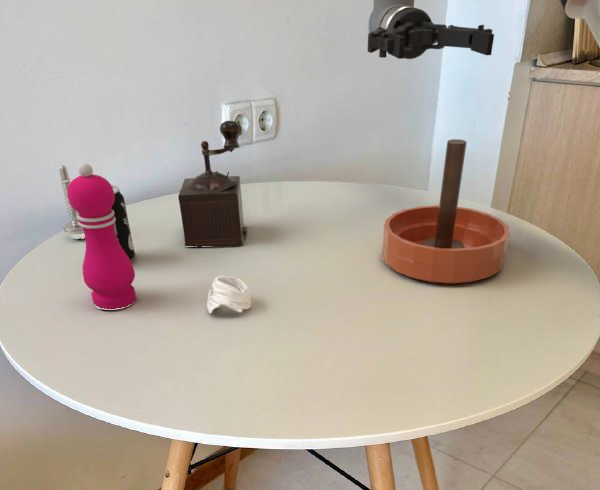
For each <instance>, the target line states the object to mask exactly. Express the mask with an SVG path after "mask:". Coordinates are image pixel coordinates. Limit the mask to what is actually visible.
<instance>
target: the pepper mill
mask: <svg viewBox="0 0 600 490" xmlns="http://www.w3.org/2000/svg"><path fill="white" fill-rule="evenodd" d="M77 171H78V174H79V176H77V177H75V178H73V179H72V180H70V181H71V183H70V184H69V186H68V193H67V195H68V200H69V203H70V205H71V206H72V208H73V209H75V210H76V211H77V212H78V214H77V216H76V217H77V219H78V225H79V226H81V227H82V228H83V231H84V234H85V239H84V240H85V251H84V258H83V263H82V277H83V281H84V284H85V286H87V288H89V289H90V290H92V291H91V300H92V304H93V303H94V304H95V305H96V306H98V307H100V308H104V309H105V308H106V309H116V308H122V307H126V306H128V305H130V304H132V303H133V302H134V301H135V300H136V301H137V295H136V290H135V287H134V286H133V282H134V280H135V277H136V276H135V275H136V273H135V269H134V265H133V263H132V261H130V259H129V257H128V256H127V255H126V253H125V252H124V250H123V249H122V247H121V245H120V244H119V242H118V240H117V237H116V234H115V231H114V222H115V221H116V218H115V217H114V210H112V209H111V207H112V205H113V203H114V200H115V195H114V191H113V188H112V186H111V185H112V184H111V183H110V182H109V180H107V178H105V177H103V176H101V175H98V174H93V172H94V171H93V167H92V165H90V164H89V163H86V162H82V163H81V164H79V166H78V169H77ZM136 301H135V302H136ZM135 302H134V303H135ZM134 303H133V304H134ZM94 304H93V305H94ZM133 304H132V305H133Z"/></svg>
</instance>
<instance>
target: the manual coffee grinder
mask: <svg viewBox="0 0 600 490" xmlns="http://www.w3.org/2000/svg"><path fill="white" fill-rule="evenodd" d="M242 131H243V128H242V125H241V123H239V122H238V121H235V120H225V121H223V122H222V123H221V124H220V126H219V132H220V134H221V136H222V137H223V139H224V145H223V148H218V149H209V146H210V145H209V142H208V141H207V140H203V141H201V143H200V147H201V155H202V156H203V160H204V161H203V162H204V168H205V169H204V170H205V171H204V172H203V173H201V174H198V175H197V176H195V177H191V178H184V180H183V182H182V186H181V188H180V190H179V193H178V203H179V210H180V217H181V223H182V230H183V238H184V247H185V246H194V247H195V246H197V247H202V246H215V247H214V248H218V247H217V246H231V247H240V246H239V245H242V246H243V245H244V243H245V242H244V241H245V238H246V235H247V234H248V228H247V227H246V225H245V223H244V209H243V208H244V207H243V198H242V197H243V196H242V187H241V177H240V175H229V174H230V172H229V171H227V174H224V173H221V172H218V171H213V170H212V169H211V168H212V167H211V161H210V157H211V156H217V155H222V154H225V153H227V152H230V153H232V152H233V151H234V150H236V149H239V148H240V145H239V142H238V139H239V138H240V136H241V134H242Z"/></svg>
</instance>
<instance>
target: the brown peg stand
mask: <svg viewBox="0 0 600 490" xmlns="http://www.w3.org/2000/svg"><path fill="white" fill-rule="evenodd" d="M467 143H468V142H467V141H466V140H464V139H449V140H447V142H446V149H445V156H444V164H443V172H442V181H441V187H440V188H441V190H440V195H439V196H440V197H439V203H438V204H439V205H438V206H439V212H438V220H437V228H436V236H435V237H434V238H429V239H426V240H424V241H423V242H422V244H421V245H425V246H430V247H435V248H450V249H460V248H465V245H464V244H463V243H462V242H460V241H458V240H456V239H453V234H454V227H455V220H456V213H457V207H459V199H460V192H461V184H462V178H463V171H464V165H465V164H464V163H465V157H466V149H467Z"/></svg>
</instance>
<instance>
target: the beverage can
mask: <svg viewBox="0 0 600 490" xmlns="http://www.w3.org/2000/svg"><path fill="white" fill-rule="evenodd" d="M111 186H112V188H113V191H114V195H115V200H114V203H113V205H112V207H111V209H112V210H114V217H115V218H116V221H115V222H114V231H115V234H116V237H117V240H118V242H119V244H120V245H121V247H122V249H123V250H124V252H125V253H126V255H127V256H128V257H129V259H130V261H131V260H132V259H134V258H135V256H136V253H135V247H134V241H133V237H132V232H131V227H130V222H129V218H128V211H127V207H126V202H125V197H124V195H123V194H122V193H121V191H120V187H119V186H117V185H115V184H111ZM132 261H133V260H132ZM132 261H131V262H132Z"/></svg>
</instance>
